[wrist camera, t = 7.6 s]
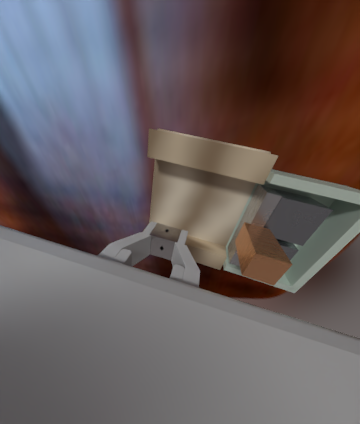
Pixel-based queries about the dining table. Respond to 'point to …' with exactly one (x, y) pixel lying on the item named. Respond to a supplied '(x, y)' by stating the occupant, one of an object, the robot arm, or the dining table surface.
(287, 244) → the chip
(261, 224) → the block
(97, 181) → the dining table surface
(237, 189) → the slot board
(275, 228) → the dark grey block
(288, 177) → the tray
